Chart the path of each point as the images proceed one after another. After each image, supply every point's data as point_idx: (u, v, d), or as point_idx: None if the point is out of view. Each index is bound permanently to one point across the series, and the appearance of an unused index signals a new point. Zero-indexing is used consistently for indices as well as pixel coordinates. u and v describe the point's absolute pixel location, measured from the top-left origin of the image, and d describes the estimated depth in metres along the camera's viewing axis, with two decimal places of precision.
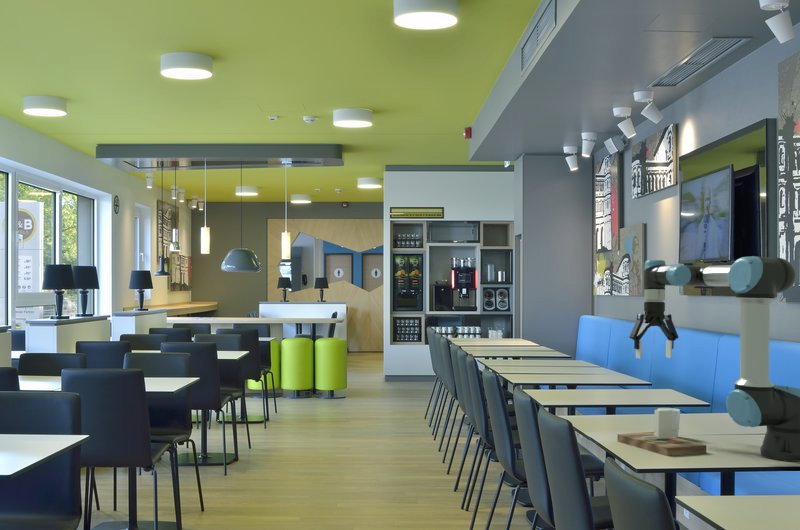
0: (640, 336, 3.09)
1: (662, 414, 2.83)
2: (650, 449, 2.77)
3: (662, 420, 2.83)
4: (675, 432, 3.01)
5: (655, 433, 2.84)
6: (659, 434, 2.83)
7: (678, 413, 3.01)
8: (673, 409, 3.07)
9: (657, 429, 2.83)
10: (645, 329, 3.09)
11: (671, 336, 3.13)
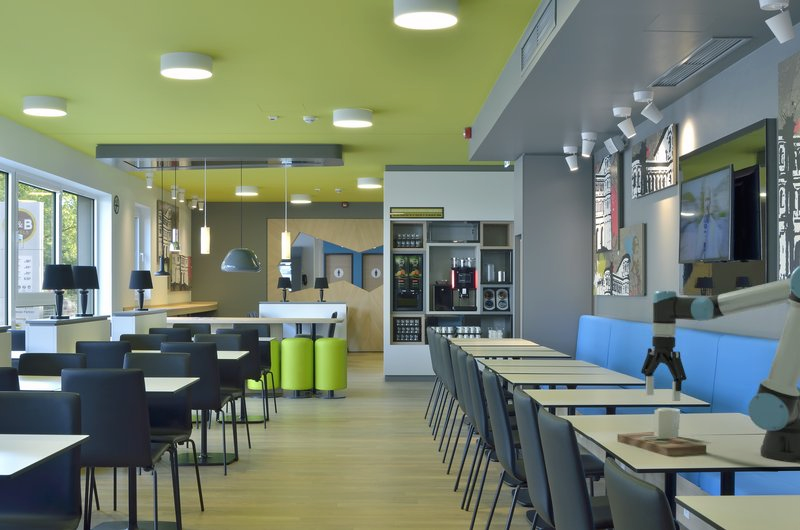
0: (647, 371, 2.91)
1: (662, 414, 2.83)
2: (650, 449, 2.77)
3: (662, 420, 2.83)
4: (675, 432, 3.01)
5: (655, 433, 2.84)
6: (659, 434, 2.83)
7: (678, 413, 3.01)
8: (673, 409, 3.07)
9: (657, 429, 2.83)
10: (651, 365, 2.89)
11: (674, 376, 2.78)
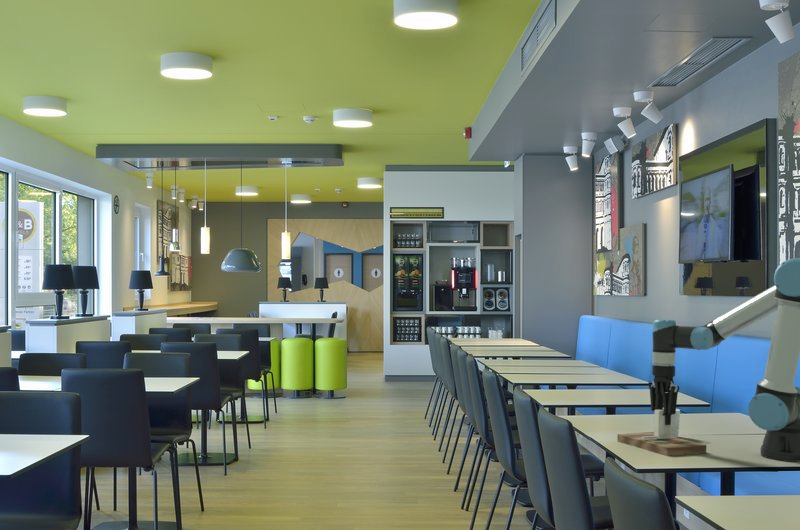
0: (655, 408, 2.87)
1: None
2: (650, 449, 2.77)
3: None
4: (675, 432, 3.01)
5: (655, 433, 2.84)
6: (659, 434, 2.83)
7: (678, 413, 3.01)
8: None
9: (657, 429, 2.83)
10: (656, 398, 2.86)
11: (664, 410, 2.82)
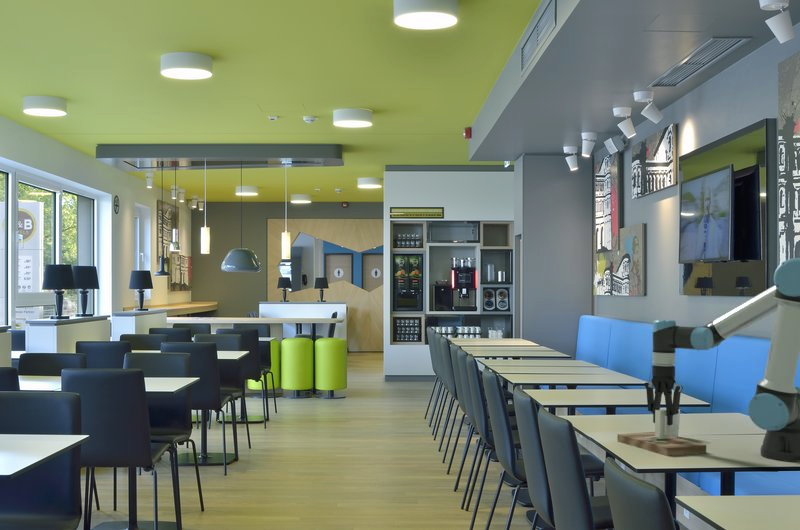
0: (654, 408, 2.86)
1: (663, 414, 2.83)
2: (650, 449, 2.77)
3: (663, 420, 2.83)
4: (675, 432, 3.01)
5: (656, 433, 2.84)
6: (660, 434, 2.83)
7: (678, 413, 3.01)
8: None
9: (658, 429, 2.83)
10: (655, 398, 2.86)
11: (667, 410, 2.82)
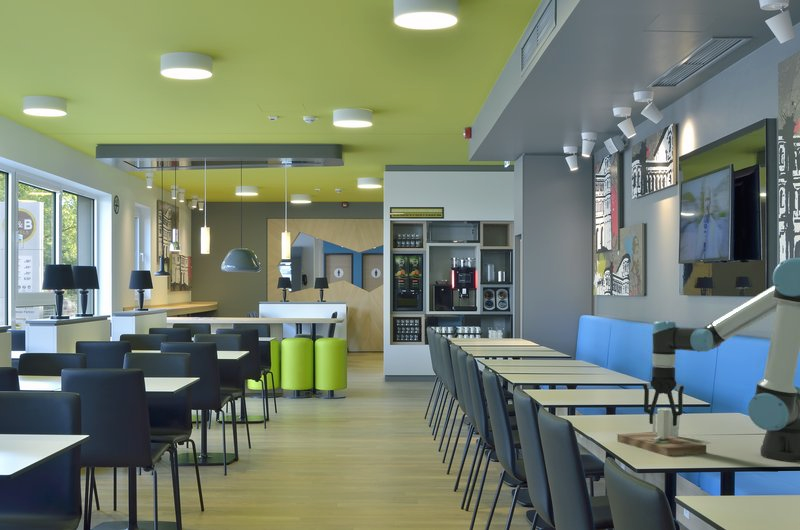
0: (652, 409, 2.85)
1: (665, 414, 2.83)
2: (650, 449, 2.77)
3: (665, 420, 2.83)
4: (675, 432, 3.01)
5: (658, 434, 2.83)
6: (664, 434, 2.82)
7: None
8: None
9: (662, 429, 2.82)
10: (654, 400, 2.85)
11: (673, 411, 2.82)
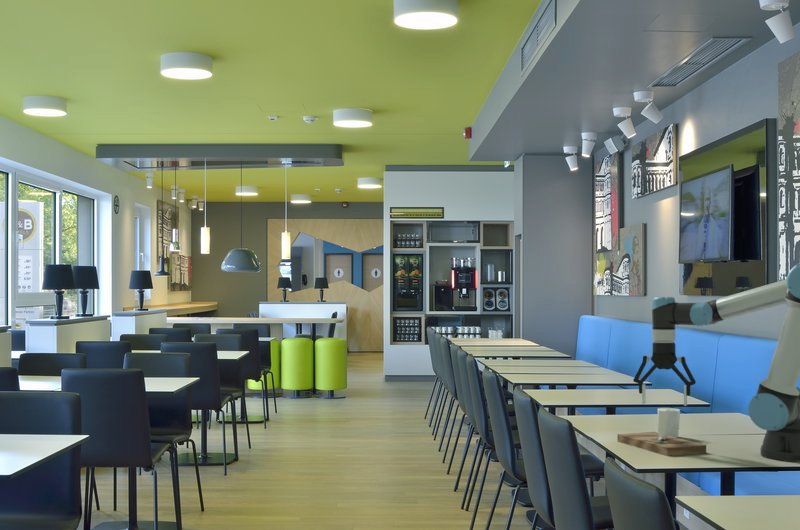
0: (642, 379, 2.87)
1: (665, 414, 2.83)
2: (650, 449, 2.77)
3: (665, 420, 2.83)
4: (675, 432, 3.01)
5: (660, 434, 2.82)
6: (665, 434, 2.82)
7: (678, 413, 3.01)
8: (673, 409, 3.07)
9: (663, 430, 2.82)
10: (649, 372, 2.86)
11: (685, 381, 2.81)
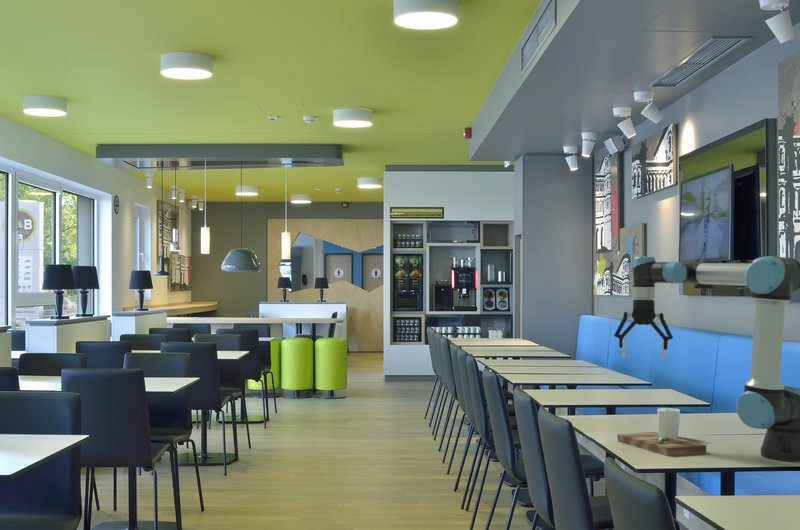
0: (623, 334, 3.03)
1: (666, 414, 2.83)
2: (650, 449, 2.77)
3: (666, 420, 2.83)
4: (675, 432, 3.01)
5: (660, 434, 2.82)
6: (665, 434, 2.82)
7: (678, 413, 3.01)
8: (673, 409, 3.07)
9: (663, 430, 2.82)
10: (629, 327, 3.03)
11: (663, 336, 2.98)
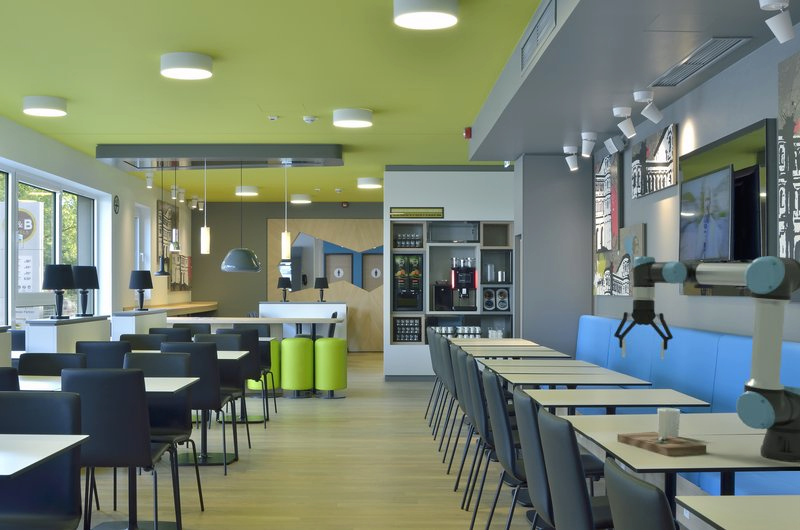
0: (623, 334, 3.03)
1: (666, 414, 2.83)
2: (650, 449, 2.77)
3: (666, 420, 2.83)
4: (675, 432, 3.01)
5: (660, 434, 2.82)
6: (665, 434, 2.82)
7: (678, 413, 3.01)
8: (673, 409, 3.07)
9: (663, 430, 2.82)
10: (629, 327, 3.03)
11: (663, 336, 2.98)
